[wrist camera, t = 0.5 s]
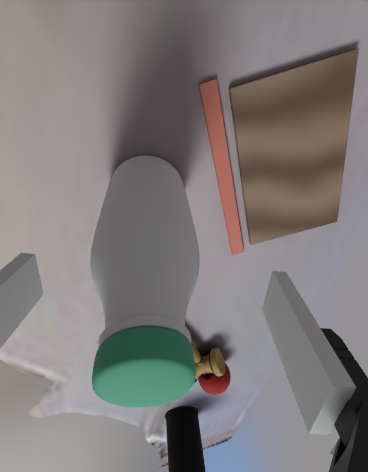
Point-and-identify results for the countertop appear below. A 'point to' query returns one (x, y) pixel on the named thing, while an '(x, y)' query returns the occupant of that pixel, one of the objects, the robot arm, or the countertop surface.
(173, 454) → the aerosol can
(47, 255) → the countertop surface
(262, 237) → the board
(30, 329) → the countertop surface
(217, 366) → the kendama
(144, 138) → the countertop surface
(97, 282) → the milk bottle
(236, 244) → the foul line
